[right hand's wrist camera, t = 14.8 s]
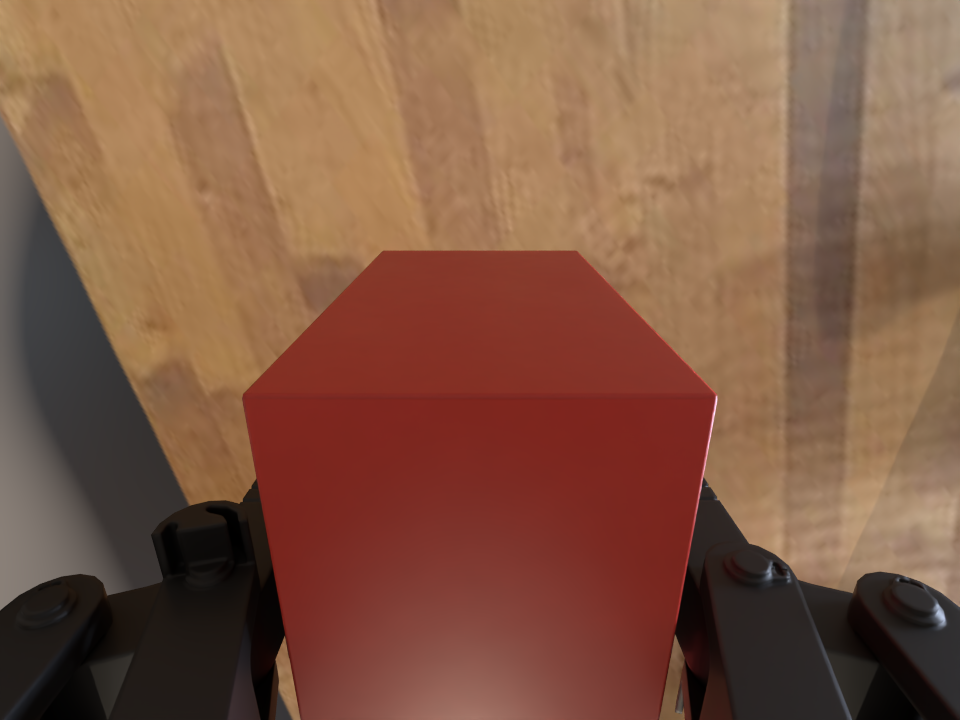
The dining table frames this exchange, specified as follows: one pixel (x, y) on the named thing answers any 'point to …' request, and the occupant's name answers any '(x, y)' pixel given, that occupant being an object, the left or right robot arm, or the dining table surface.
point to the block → (479, 493)
